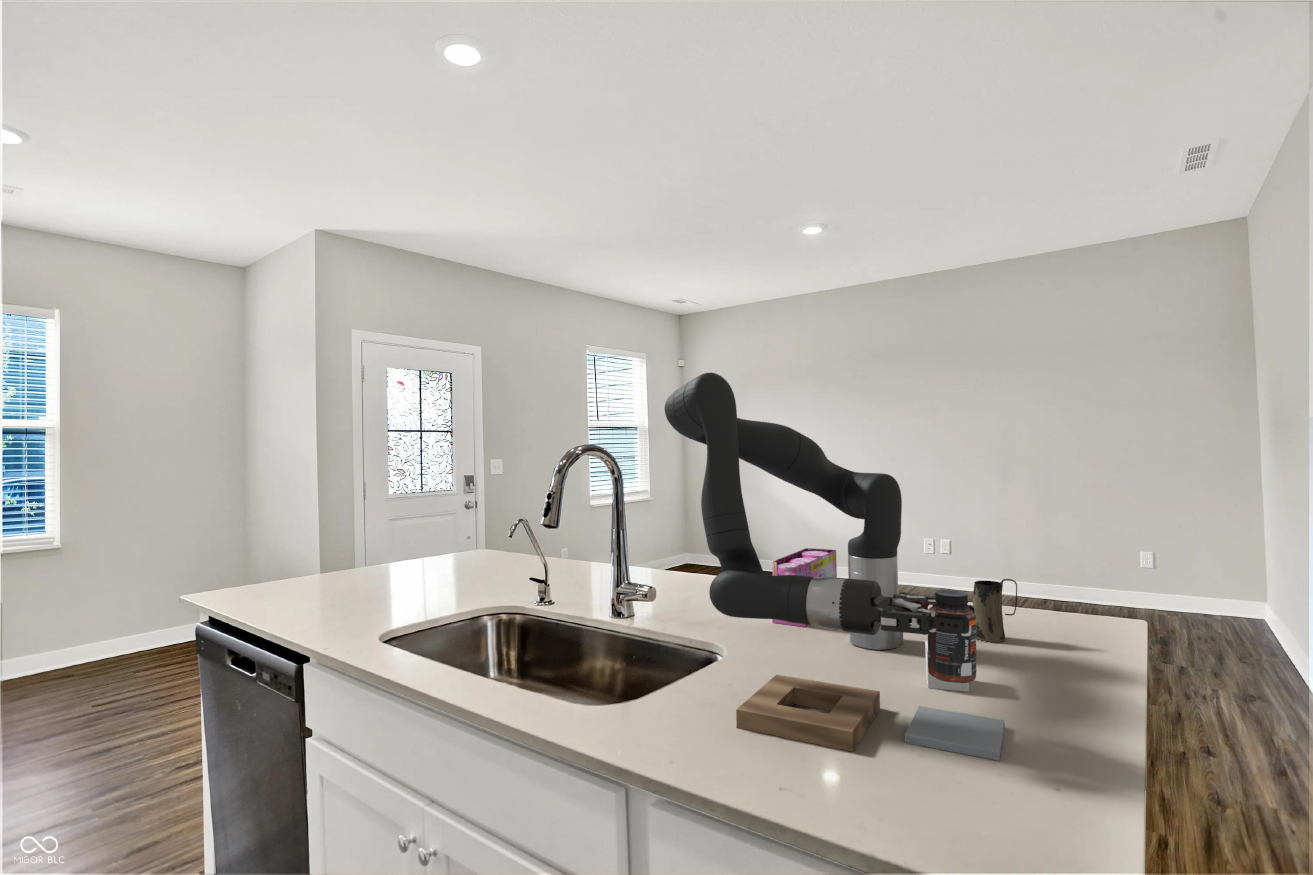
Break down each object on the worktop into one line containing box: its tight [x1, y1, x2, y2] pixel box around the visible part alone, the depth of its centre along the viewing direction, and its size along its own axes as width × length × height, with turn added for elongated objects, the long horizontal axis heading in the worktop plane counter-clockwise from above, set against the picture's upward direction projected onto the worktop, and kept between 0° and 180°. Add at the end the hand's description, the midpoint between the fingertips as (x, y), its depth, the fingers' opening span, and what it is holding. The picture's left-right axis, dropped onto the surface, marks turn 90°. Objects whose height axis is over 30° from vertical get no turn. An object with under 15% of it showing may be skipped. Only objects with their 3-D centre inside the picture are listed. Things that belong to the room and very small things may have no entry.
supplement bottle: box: [927, 589, 977, 684], centre depth 90 cm, size 6×6×11 cm
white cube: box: [924, 640, 970, 693], centre depth 109 cm, size 6×6×6 cm
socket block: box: [735, 674, 881, 752], centre depth 97 cm, size 16×16×2 cm
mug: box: [972, 578, 1018, 644], centre depth 133 cm, size 8×6×12 cm
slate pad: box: [904, 705, 1006, 762], centre depth 90 cm, size 11×11×1 cm
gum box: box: [771, 547, 838, 628], centre depth 155 cm, size 24×8×14 cm, turn 147°
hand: (971, 619), depth 89 cm, fingers closed on supplement bottle, 6 cm apart
